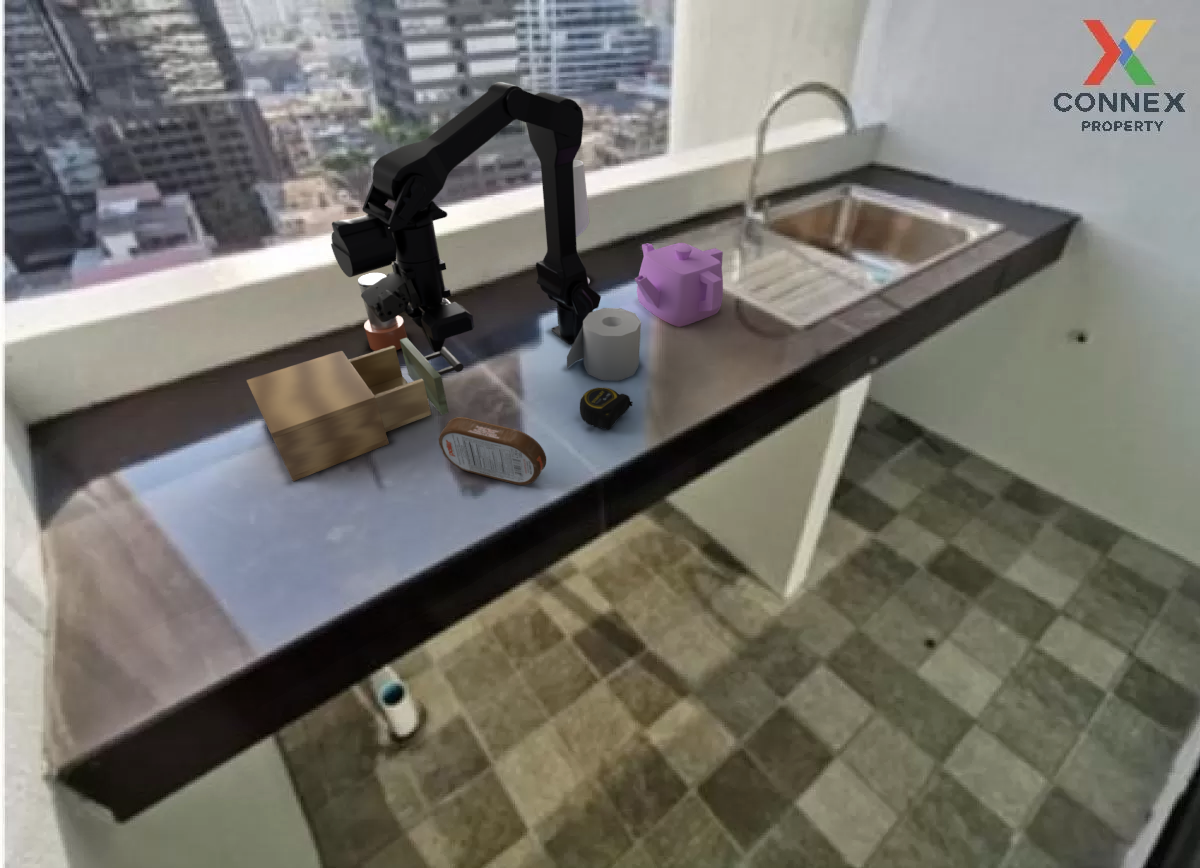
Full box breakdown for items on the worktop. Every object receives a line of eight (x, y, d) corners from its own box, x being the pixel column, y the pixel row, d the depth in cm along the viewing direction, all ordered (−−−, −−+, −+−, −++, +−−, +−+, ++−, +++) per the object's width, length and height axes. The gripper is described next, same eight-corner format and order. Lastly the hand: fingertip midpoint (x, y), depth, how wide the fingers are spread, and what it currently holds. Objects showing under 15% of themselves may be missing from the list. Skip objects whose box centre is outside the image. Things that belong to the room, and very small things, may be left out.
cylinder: (401, 324, 107) (390, 280, 102) (375, 332, 105) (363, 287, 100) (391, 314, 110) (380, 270, 105) (366, 321, 108) (353, 277, 102)
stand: (413, 344, 110) (409, 325, 107) (377, 356, 106) (371, 337, 104) (399, 329, 114) (395, 310, 111) (364, 340, 111) (358, 320, 108)
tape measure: (608, 437, 90) (609, 418, 87) (571, 421, 93) (570, 402, 90) (632, 413, 94) (633, 394, 92) (595, 399, 97) (595, 380, 95)
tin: (549, 479, 83) (545, 432, 78) (539, 494, 81) (535, 447, 75) (452, 455, 87) (442, 408, 81) (441, 469, 85) (430, 422, 79)
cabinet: (356, 395, 98) (341, 350, 92) (389, 443, 89) (375, 396, 83) (267, 426, 92) (246, 380, 86) (293, 481, 83) (270, 433, 77)
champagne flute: (580, 271, 133) (577, 155, 117) (596, 283, 128) (595, 164, 113) (553, 278, 130) (546, 161, 114) (568, 291, 126) (564, 170, 110)
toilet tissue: (555, 368, 104) (553, 324, 98) (618, 345, 109) (619, 302, 104) (584, 394, 98) (583, 349, 92) (649, 368, 104) (651, 324, 98)
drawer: (442, 362, 103) (435, 328, 99) (478, 401, 95) (472, 365, 91) (340, 398, 96) (327, 362, 91) (369, 443, 87) (357, 406, 83)
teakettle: (719, 332, 113) (728, 270, 105) (629, 324, 115) (632, 263, 107) (721, 290, 126) (729, 232, 118) (640, 284, 128) (643, 227, 120)
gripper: (338, 246, 86) (365, 340, 96) (385, 296, 74) (410, 398, 84) (412, 228, 91) (431, 320, 101) (467, 273, 79) (482, 372, 89)
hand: (436, 350), depth 94 cm, fingers closed
